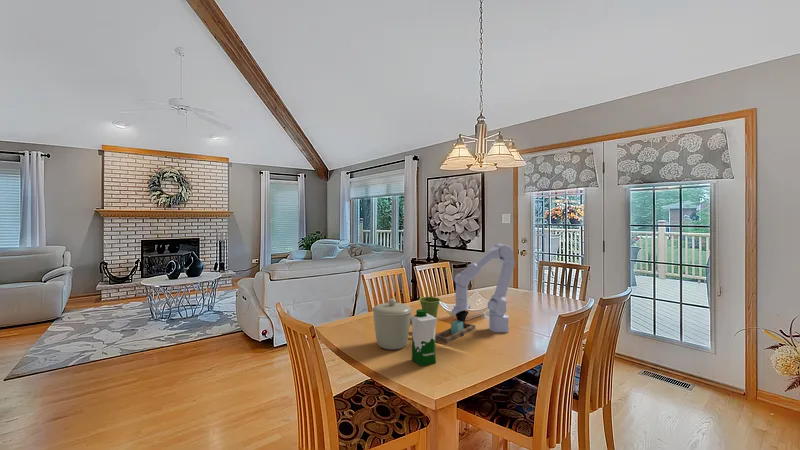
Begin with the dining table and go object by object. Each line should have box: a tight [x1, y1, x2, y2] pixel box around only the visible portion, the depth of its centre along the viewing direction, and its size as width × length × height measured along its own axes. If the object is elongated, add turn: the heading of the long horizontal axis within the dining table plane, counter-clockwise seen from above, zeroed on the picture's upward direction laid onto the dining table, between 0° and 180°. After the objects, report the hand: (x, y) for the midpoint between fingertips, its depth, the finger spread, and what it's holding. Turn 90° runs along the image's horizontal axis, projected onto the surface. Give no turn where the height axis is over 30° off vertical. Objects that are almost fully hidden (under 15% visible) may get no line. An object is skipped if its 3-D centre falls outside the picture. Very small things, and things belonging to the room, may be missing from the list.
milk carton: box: [410, 308, 438, 367], centre depth 145 cm, size 9×9×20 cm
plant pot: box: [418, 296, 442, 318], centre depth 202 cm, size 12×12×11 cm
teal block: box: [450, 319, 464, 335], centre depth 175 cm, size 5×4×6 cm
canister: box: [371, 298, 414, 351], centre depth 161 cm, size 18×18×21 cm
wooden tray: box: [435, 322, 476, 346], centre depth 174 cm, size 26×8×3 cm, turn 140°
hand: (461, 325), depth 178 cm, fingers closed
